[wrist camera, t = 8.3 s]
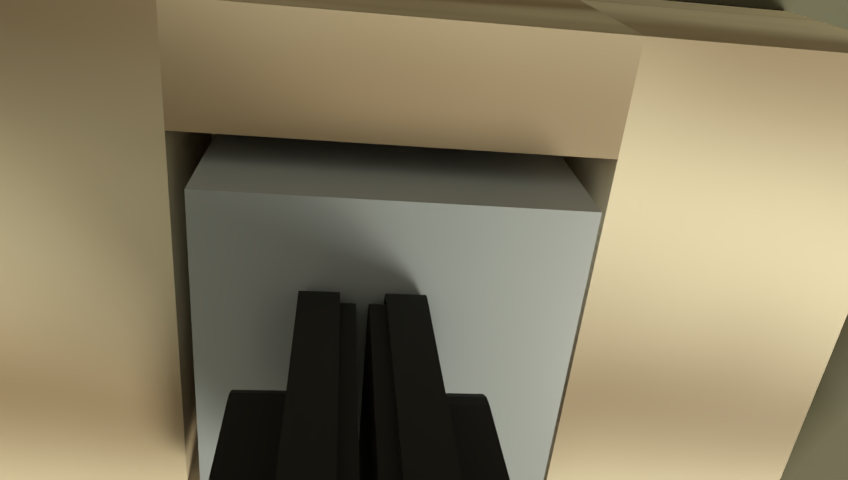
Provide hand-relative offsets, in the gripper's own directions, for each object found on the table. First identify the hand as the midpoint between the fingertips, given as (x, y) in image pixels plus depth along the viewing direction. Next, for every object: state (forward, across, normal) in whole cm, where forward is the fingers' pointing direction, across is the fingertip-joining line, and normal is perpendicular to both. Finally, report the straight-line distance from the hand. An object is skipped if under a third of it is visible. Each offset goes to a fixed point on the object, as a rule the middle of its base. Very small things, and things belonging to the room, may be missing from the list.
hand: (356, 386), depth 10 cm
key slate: (+3, 0, 0) cm, 3 cm away
